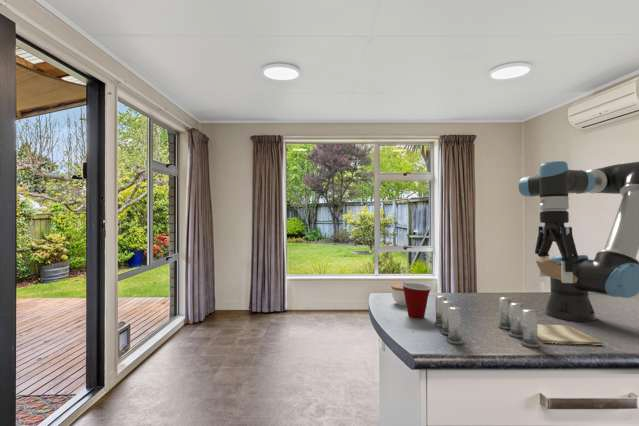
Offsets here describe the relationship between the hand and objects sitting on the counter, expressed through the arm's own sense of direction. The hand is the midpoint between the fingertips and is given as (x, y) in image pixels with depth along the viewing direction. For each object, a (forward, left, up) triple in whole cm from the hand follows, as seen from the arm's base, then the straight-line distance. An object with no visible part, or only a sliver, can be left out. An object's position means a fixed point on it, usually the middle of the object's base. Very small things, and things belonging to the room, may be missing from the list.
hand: (555, 279), depth 106 cm
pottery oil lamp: (0, 0, -1) cm, 1 cm away
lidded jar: (+42, -36, -18) cm, 58 cm away
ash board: (0, 0, -18) cm, 18 cm away
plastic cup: (+40, -16, -18) cm, 47 cm away
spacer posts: (+23, +2, -18) cm, 29 cm away
